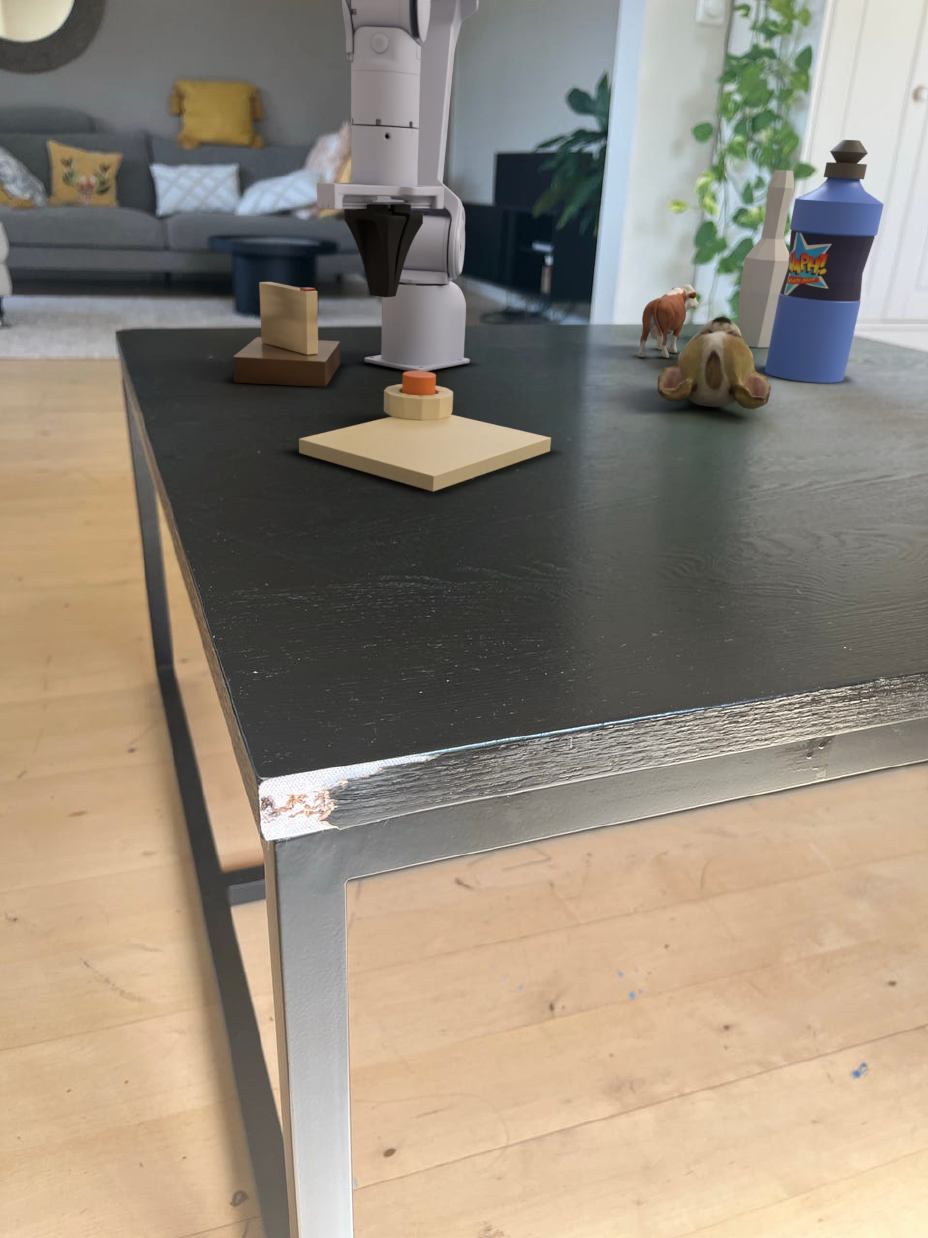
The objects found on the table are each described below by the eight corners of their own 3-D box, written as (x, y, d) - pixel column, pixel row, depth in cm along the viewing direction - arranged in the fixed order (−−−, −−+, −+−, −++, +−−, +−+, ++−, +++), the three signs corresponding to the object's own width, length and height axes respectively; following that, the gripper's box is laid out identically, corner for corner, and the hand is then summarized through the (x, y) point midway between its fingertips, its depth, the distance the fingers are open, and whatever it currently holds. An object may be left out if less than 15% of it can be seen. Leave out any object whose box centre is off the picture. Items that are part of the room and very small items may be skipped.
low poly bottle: (782, 349, 130) (816, 171, 120) (736, 347, 130) (766, 168, 120) (769, 341, 136) (801, 171, 126) (725, 339, 136) (753, 168, 126)
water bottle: (809, 385, 108) (860, 137, 97) (746, 369, 115) (788, 137, 104) (861, 379, 112) (915, 143, 102) (798, 365, 119) (842, 142, 109)
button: (416, 389, 82) (417, 369, 82) (441, 395, 81) (442, 374, 80) (395, 394, 80) (395, 373, 80) (420, 400, 79) (421, 378, 78)
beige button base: (413, 414, 85) (414, 380, 84) (559, 449, 77) (562, 412, 76) (277, 447, 73) (276, 409, 72) (432, 492, 65) (434, 449, 64)
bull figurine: (697, 349, 126) (707, 284, 123) (659, 362, 116) (668, 292, 112) (666, 345, 128) (675, 281, 125) (626, 357, 118) (634, 288, 115)
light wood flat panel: (261, 342, 100) (259, 279, 97) (272, 341, 101) (270, 279, 98) (307, 354, 95) (305, 289, 92) (318, 353, 96) (317, 288, 93)
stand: (257, 360, 104) (256, 336, 103) (340, 364, 104) (340, 341, 103) (233, 382, 93) (232, 356, 92) (325, 387, 94) (325, 361, 93)
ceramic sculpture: (776, 307, 97) (784, 338, 84) (761, 392, 101) (766, 433, 89) (670, 300, 99) (662, 328, 86) (660, 383, 103) (650, 422, 91)
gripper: (362, 123, 73) (361, 307, 79) (473, 133, 84) (465, 295, 90) (297, 120, 77) (301, 297, 83) (411, 131, 88) (408, 286, 93)
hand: (382, 295), depth 86 cm, fingers closed
